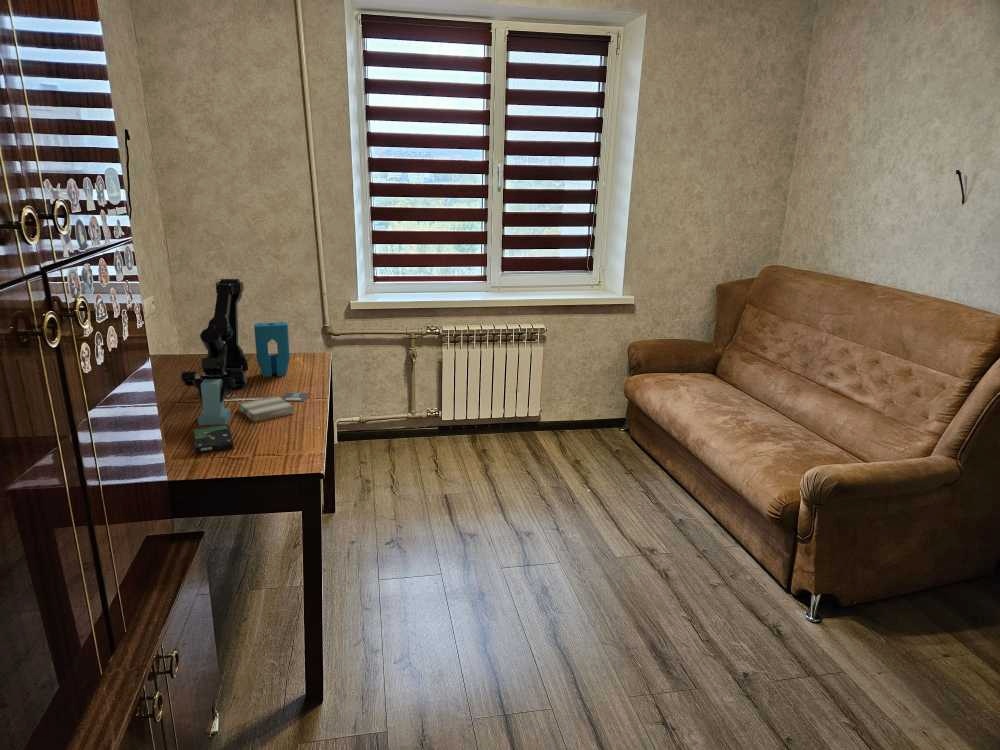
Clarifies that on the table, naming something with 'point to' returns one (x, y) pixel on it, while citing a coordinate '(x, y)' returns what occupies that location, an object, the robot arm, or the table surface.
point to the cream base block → (266, 408)
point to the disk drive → (213, 439)
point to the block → (281, 360)
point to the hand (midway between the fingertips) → (211, 402)
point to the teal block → (212, 404)
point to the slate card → (295, 397)
